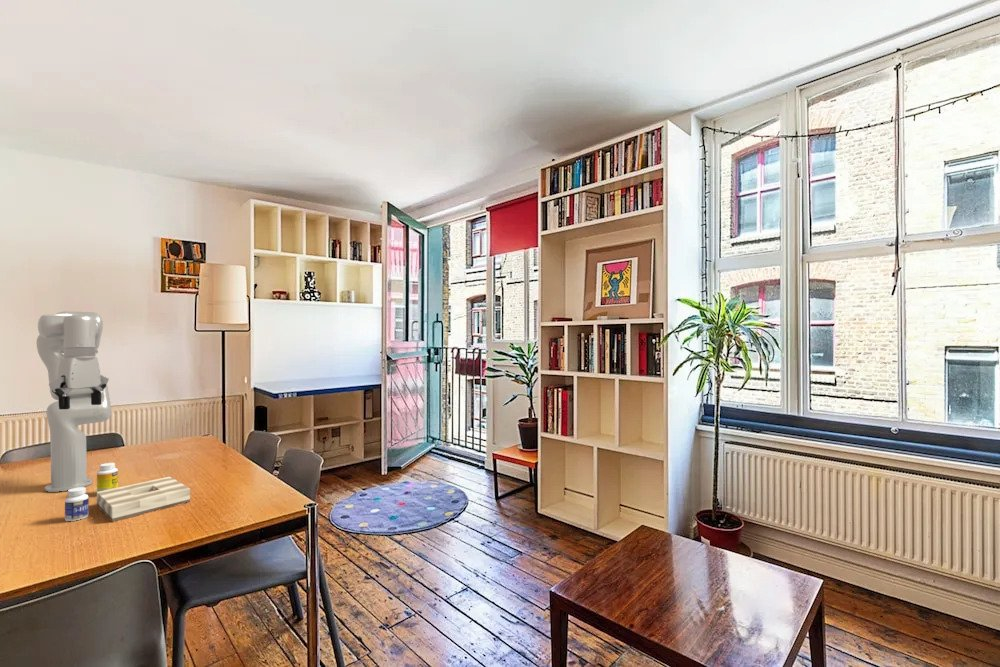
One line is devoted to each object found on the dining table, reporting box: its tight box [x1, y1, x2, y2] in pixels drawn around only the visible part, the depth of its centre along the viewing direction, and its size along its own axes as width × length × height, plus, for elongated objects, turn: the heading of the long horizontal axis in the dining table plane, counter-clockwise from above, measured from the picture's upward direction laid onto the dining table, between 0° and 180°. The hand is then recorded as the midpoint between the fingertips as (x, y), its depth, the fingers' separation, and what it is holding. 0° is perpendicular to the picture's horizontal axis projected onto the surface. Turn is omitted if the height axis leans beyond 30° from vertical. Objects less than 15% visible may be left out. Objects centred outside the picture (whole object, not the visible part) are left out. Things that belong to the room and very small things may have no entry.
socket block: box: [96, 476, 191, 523], centre depth 150 cm, size 20×20×4 cm
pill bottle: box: [64, 486, 90, 522], centre depth 139 cm, size 5×5×9 cm
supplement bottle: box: [96, 462, 119, 493], centre depth 160 cm, size 6×6×10 cm
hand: (80, 406), depth 147 cm, fingers open, 9 cm apart
